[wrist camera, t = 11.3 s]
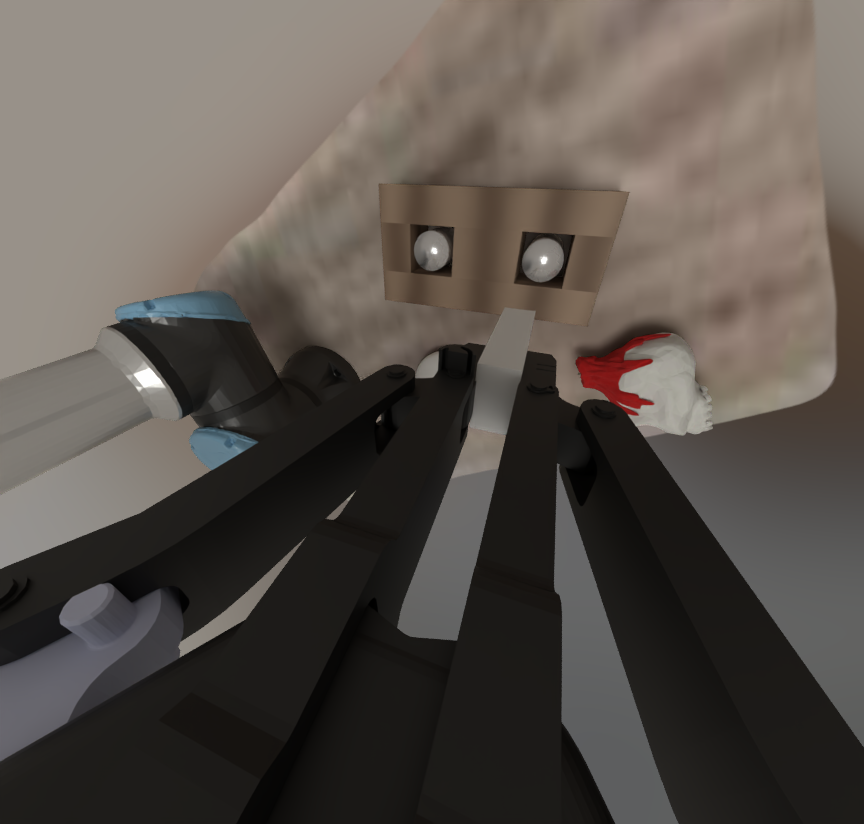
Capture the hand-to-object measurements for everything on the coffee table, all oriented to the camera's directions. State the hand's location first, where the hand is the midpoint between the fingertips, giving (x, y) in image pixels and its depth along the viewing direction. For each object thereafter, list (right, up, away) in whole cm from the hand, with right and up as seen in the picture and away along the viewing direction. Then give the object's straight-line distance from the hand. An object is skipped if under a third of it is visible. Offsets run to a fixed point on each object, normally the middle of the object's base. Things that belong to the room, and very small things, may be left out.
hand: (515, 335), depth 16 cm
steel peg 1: (-3, +17, +24) cm, 29 cm away
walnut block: (+3, +16, +23) cm, 28 cm away
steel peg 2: (+9, +14, +21) cm, 27 cm away
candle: (+22, +2, +25) cm, 33 cm away
